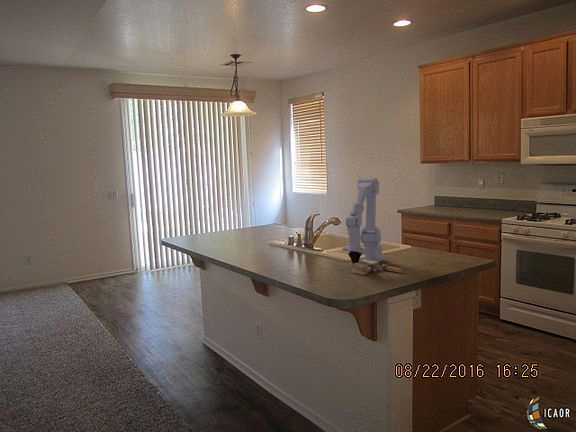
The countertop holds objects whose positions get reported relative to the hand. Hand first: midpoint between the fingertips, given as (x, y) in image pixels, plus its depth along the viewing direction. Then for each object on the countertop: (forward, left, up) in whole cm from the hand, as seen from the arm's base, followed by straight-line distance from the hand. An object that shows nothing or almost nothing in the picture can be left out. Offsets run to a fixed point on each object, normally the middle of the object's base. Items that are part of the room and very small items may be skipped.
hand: (355, 266), depth 238 cm
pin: (0, +5, -1) cm, 5 cm away
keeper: (-7, +17, -1) cm, 18 cm away
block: (0, +6, -1) cm, 7 cm away
